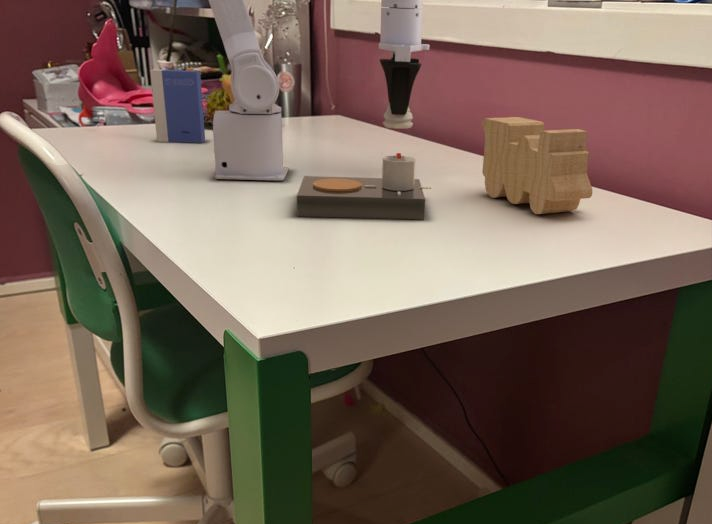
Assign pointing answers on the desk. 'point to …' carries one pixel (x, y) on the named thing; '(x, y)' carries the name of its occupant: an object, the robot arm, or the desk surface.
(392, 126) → the rook chess piece
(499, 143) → the toy train
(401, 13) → the robot arm
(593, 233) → the desk surface
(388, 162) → the hob knob
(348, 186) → the burner
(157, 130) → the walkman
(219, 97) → the yellow-green lumpy cluster
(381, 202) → the hob
